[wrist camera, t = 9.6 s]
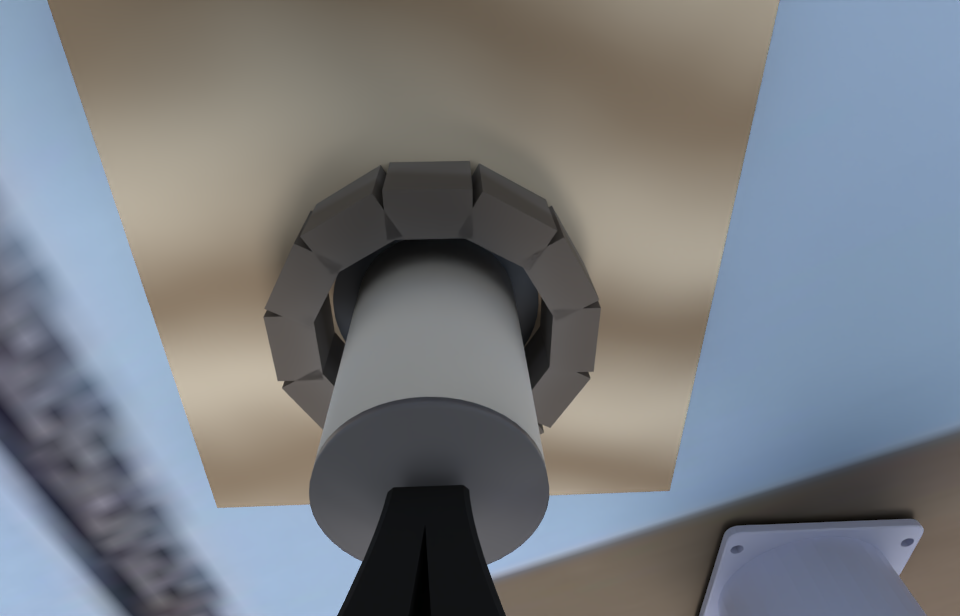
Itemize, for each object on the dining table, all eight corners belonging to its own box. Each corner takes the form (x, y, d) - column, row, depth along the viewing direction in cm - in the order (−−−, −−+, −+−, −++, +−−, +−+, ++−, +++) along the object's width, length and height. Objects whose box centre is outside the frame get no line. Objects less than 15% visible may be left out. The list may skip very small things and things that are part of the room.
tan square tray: (660, 469, 23) (688, 537, 20) (226, 485, 22) (197, 557, 19) (762, -16, 14) (830, -7, 12) (70, -10, 14) (-18, 1, 11)
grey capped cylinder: (511, 366, 18) (542, 572, 12) (366, 369, 18) (325, 578, 12) (517, 232, 16) (557, 405, 10) (350, 234, 16) (291, 411, 10)
